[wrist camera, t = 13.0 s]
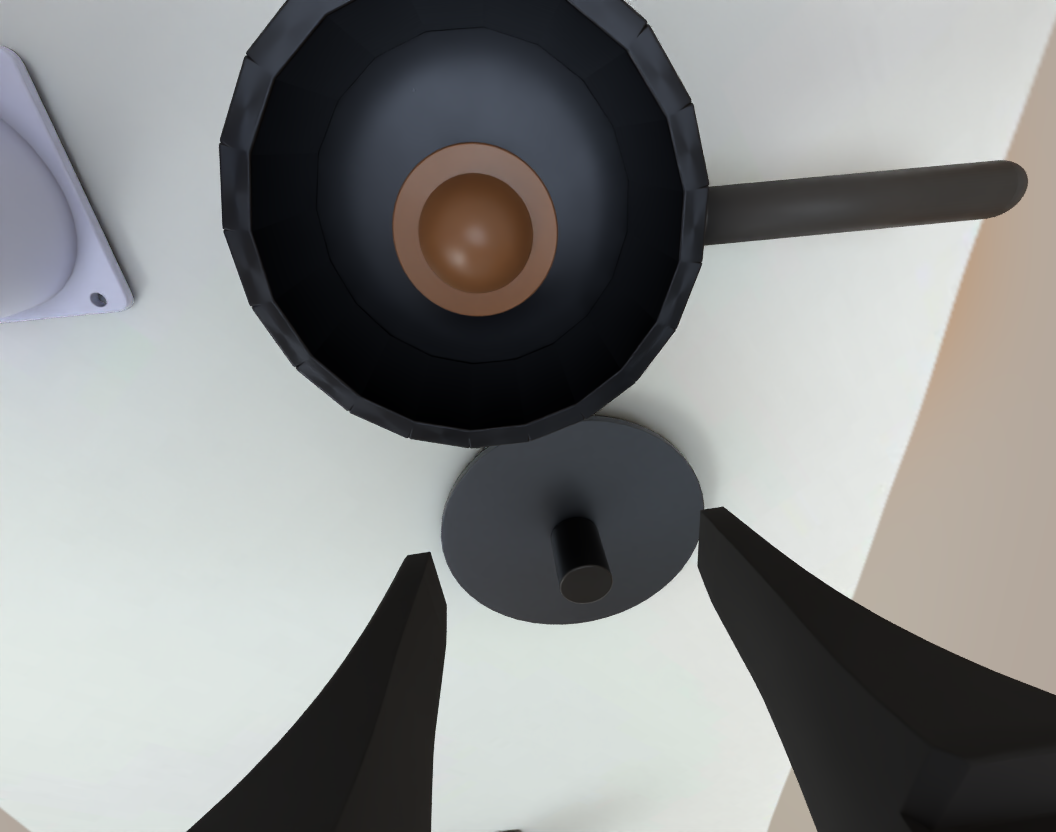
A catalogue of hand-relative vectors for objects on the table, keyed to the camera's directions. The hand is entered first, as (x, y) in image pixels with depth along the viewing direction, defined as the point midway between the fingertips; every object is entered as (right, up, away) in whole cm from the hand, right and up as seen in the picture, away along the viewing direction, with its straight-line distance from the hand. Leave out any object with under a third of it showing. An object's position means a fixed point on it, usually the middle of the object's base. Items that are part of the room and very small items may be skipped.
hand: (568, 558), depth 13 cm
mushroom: (-3, +11, +5) cm, 12 cm away
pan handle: (+8, +11, +2) cm, 14 cm away
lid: (+1, -2, +12) cm, 12 cm away
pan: (-3, +11, +5) cm, 13 cm away
